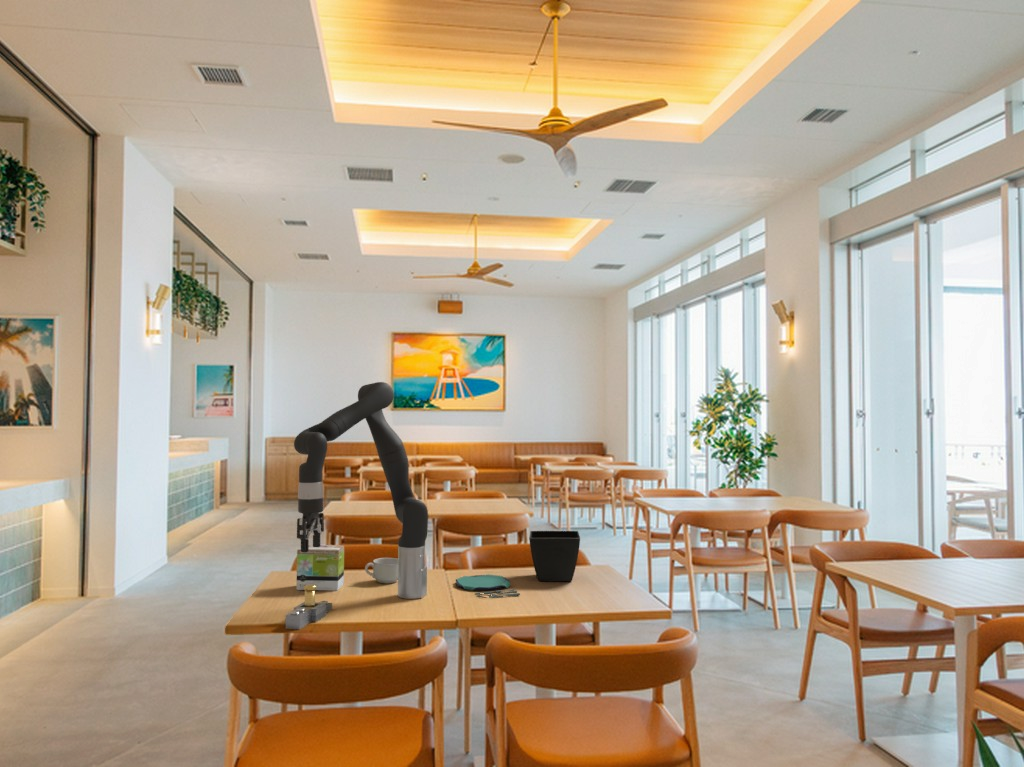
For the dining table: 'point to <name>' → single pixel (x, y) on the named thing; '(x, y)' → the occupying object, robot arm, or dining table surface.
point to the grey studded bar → (306, 614)
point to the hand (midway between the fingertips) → (310, 549)
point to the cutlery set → (485, 584)
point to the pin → (309, 595)
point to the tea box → (321, 567)
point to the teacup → (384, 570)
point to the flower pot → (554, 554)
